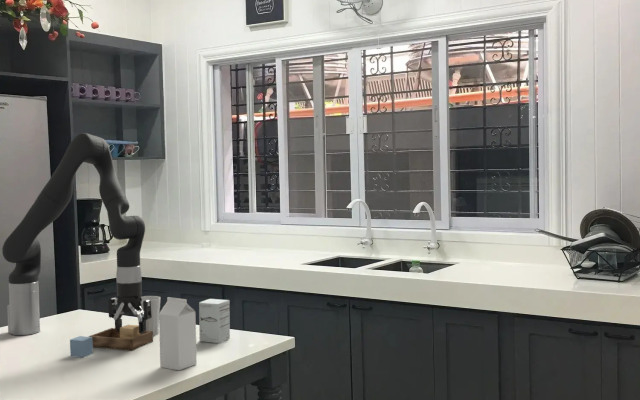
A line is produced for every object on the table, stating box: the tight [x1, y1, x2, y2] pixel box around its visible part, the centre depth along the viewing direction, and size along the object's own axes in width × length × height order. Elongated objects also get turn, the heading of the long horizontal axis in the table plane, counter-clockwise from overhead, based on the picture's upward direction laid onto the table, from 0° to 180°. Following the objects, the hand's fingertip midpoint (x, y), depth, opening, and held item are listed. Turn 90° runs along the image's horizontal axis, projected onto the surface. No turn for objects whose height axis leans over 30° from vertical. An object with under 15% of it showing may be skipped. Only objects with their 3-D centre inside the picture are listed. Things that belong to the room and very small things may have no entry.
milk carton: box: [158, 296, 198, 371], centre depth 197 cm, size 7×7×19 cm
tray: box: [87, 327, 154, 352], centre depth 222 cm, size 16×12×3 cm
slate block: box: [69, 335, 94, 358], centre depth 211 cm, size 4×4×5 cm
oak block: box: [120, 324, 141, 339], centre depth 221 cm, size 4×4×5 cm
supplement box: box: [198, 298, 231, 344], centre depth 226 cm, size 7×7×13 cm
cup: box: [137, 295, 161, 337], centre depth 235 cm, size 8×8×12 cm
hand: (130, 332), depth 221 cm, fingers open, 8 cm apart
